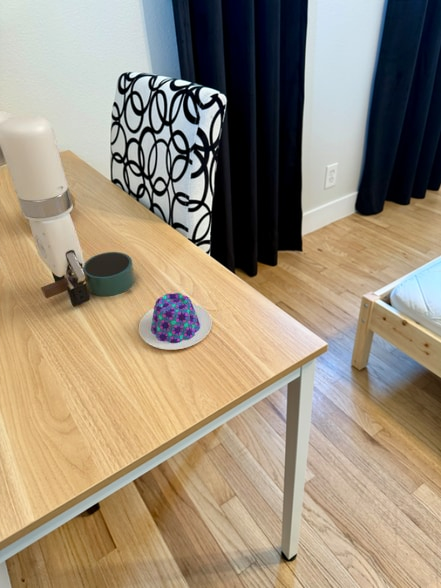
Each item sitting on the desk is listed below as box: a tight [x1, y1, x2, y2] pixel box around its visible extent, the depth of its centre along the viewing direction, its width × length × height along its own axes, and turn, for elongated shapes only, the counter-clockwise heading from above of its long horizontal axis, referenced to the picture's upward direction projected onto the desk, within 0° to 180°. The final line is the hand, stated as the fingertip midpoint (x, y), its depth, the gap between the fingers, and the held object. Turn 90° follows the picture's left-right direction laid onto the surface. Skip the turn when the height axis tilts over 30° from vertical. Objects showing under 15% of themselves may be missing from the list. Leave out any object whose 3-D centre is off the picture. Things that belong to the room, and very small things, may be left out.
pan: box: [40, 251, 136, 299], centre depth 79 cm, size 17×9×4 cm, turn 129°
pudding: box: [138, 292, 213, 351], centre depth 69 cm, size 12×12×5 cm
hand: (73, 293), depth 78 cm, fingers open, 6 cm apart
